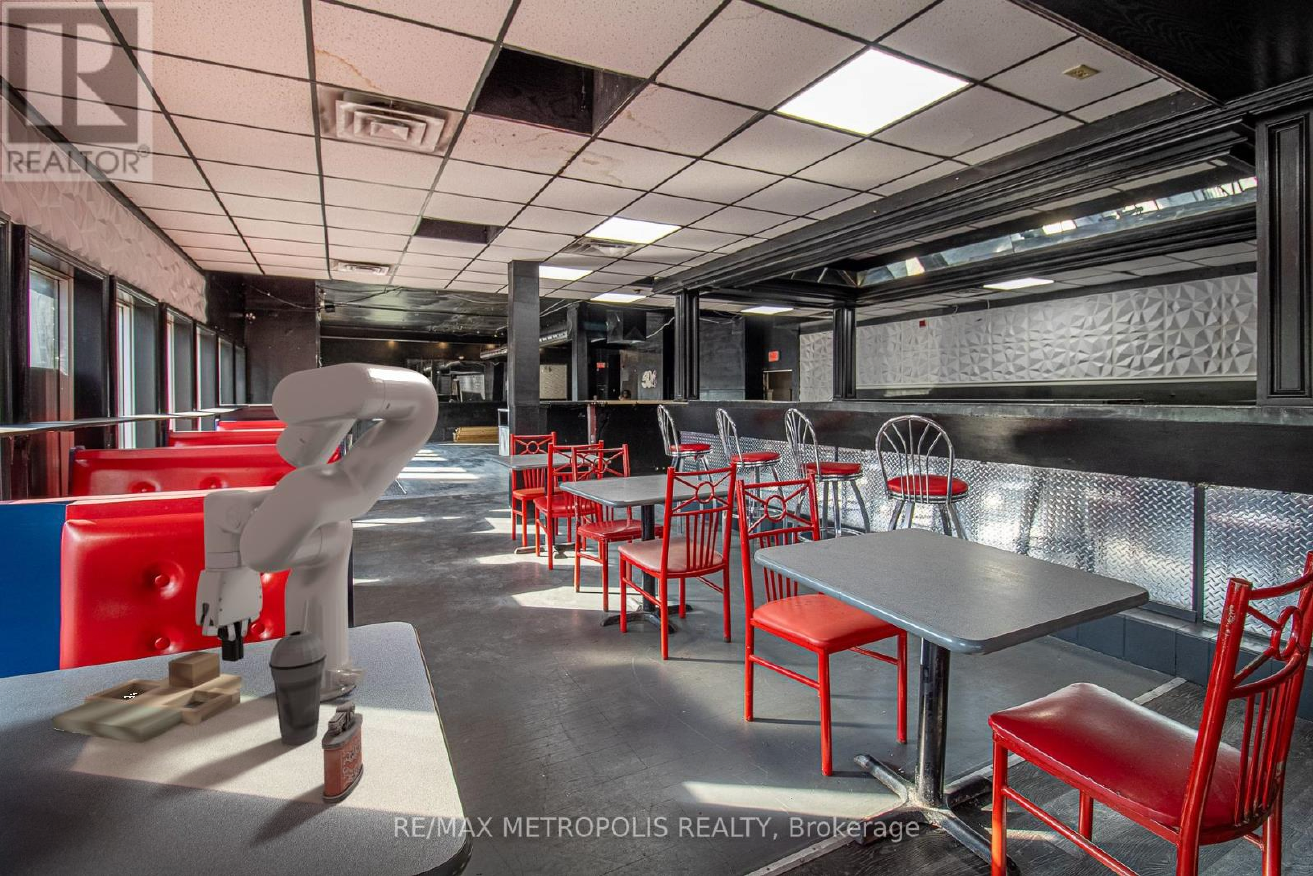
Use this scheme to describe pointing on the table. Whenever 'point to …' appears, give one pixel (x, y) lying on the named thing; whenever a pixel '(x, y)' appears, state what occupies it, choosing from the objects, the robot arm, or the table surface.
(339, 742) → the lighter
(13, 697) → the table surface
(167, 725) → the board
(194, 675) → the walnut block
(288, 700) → the beverage cup
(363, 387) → the robot arm
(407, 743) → the table surface
